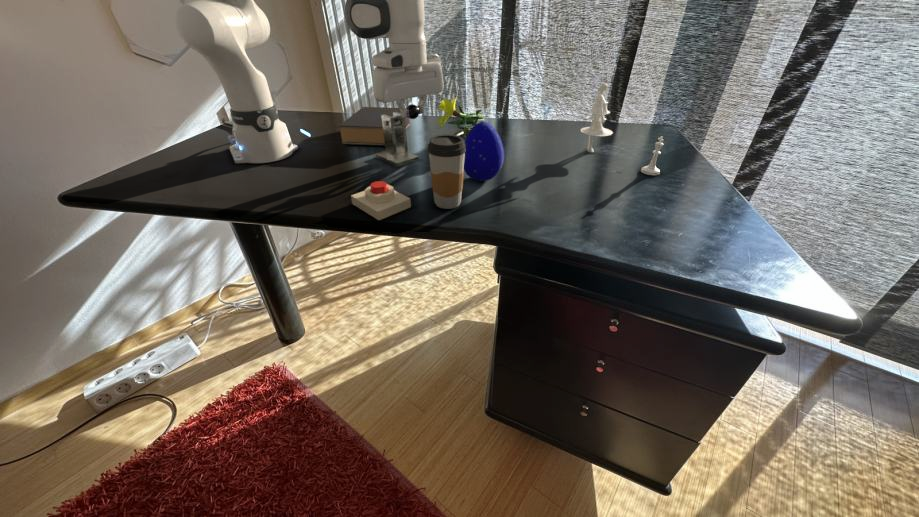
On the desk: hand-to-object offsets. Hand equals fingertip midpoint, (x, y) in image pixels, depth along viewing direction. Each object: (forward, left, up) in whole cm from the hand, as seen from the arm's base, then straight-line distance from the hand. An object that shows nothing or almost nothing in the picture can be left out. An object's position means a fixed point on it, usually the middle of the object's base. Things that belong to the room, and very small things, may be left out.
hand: (412, 115), depth 95 cm
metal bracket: (-9, 0, -14) cm, 17 cm away
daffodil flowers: (-5, +26, -14) cm, 30 cm away
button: (+13, -21, -11) cm, 27 cm away
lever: (-4, 0, -3) cm, 5 cm away
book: (-32, +9, -14) cm, 36 cm away
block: (+13, -21, -14) cm, 29 cm away
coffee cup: (+23, -9, -14) cm, 29 cm away
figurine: (+29, +49, -14) cm, 59 cm away
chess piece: (+49, +45, -14) cm, 68 cm away
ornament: (+19, +7, -14) cm, 25 cm away
